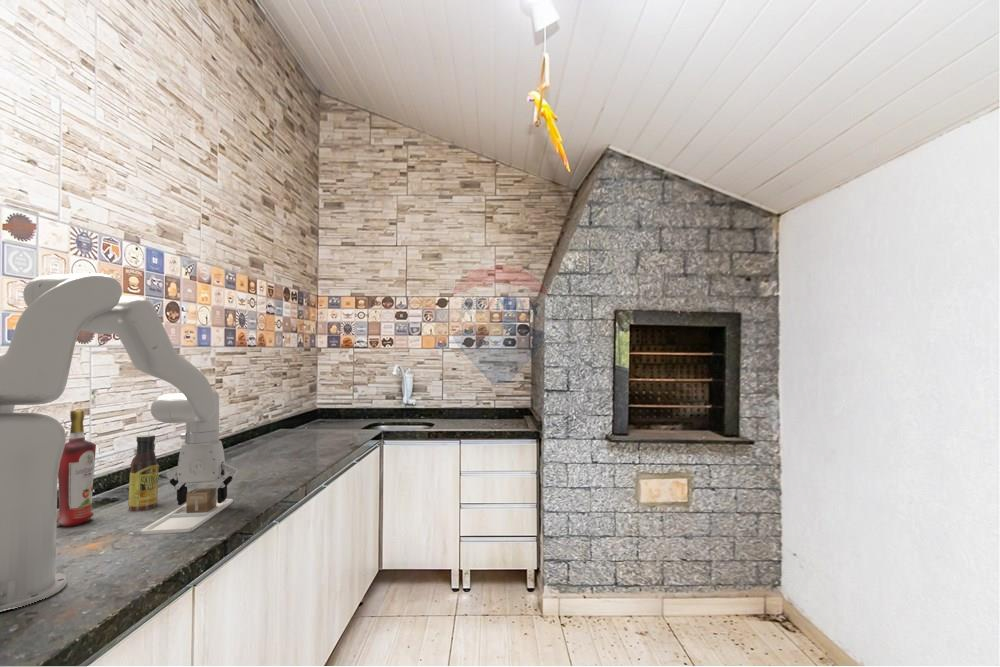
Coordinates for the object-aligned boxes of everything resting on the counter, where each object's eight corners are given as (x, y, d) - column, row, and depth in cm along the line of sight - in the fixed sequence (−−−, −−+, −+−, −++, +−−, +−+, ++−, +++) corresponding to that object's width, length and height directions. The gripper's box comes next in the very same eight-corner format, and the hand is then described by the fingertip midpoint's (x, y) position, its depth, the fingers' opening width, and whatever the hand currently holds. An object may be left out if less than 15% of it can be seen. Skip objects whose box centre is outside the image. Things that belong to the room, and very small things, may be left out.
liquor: (78, 517, 122) (80, 408, 123) (102, 518, 120) (104, 408, 121) (46, 527, 114) (49, 412, 115) (71, 529, 113) (74, 412, 114)
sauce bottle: (141, 514, 123) (142, 438, 123) (121, 513, 124) (123, 437, 125) (164, 506, 129) (165, 433, 130) (145, 505, 130) (146, 433, 131)
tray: (190, 535, 108) (190, 528, 108) (138, 538, 107) (139, 531, 107) (233, 504, 130) (233, 498, 130) (191, 506, 129) (191, 500, 129)
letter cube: (206, 512, 122) (206, 492, 122) (186, 513, 121) (186, 493, 121) (216, 506, 127) (216, 486, 127) (196, 506, 126) (196, 487, 126)
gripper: (158, 441, 120) (158, 509, 119) (230, 438, 122) (230, 505, 121) (175, 436, 127) (175, 499, 127) (243, 433, 129) (242, 496, 129)
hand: (202, 502), depth 124 cm, fingers open, 9 cm apart
